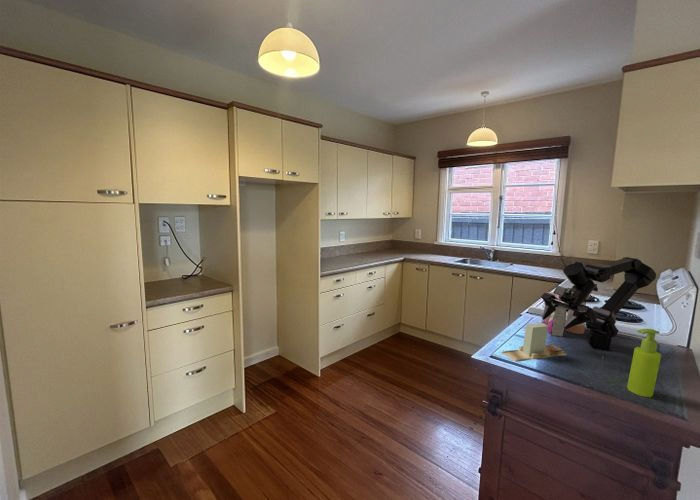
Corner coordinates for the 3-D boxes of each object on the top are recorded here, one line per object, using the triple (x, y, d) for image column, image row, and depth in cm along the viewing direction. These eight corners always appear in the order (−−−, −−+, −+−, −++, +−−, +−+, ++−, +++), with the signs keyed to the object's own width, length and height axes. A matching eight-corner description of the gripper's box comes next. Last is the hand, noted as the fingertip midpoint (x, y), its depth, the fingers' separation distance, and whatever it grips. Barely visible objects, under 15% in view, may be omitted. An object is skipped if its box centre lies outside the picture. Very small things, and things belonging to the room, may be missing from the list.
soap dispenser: (618, 385, 99) (630, 325, 96) (639, 385, 100) (651, 325, 97) (637, 397, 94) (649, 334, 90) (658, 397, 94) (671, 334, 91)
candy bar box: (540, 325, 146) (545, 291, 143) (552, 326, 145) (557, 292, 142) (550, 335, 135) (555, 299, 132) (563, 337, 134) (569, 300, 131)
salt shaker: (588, 333, 139) (595, 291, 136) (574, 334, 137) (581, 292, 134) (573, 326, 146) (579, 286, 143) (560, 327, 144) (566, 287, 141)
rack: (549, 347, 124) (550, 341, 123) (566, 356, 117) (567, 350, 117) (500, 354, 117) (501, 348, 117) (515, 364, 110) (516, 357, 110)
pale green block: (537, 350, 119) (541, 322, 117) (544, 354, 116) (548, 325, 115) (522, 352, 117) (526, 324, 115) (529, 356, 114) (532, 327, 113)
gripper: (547, 272, 124) (522, 302, 123) (595, 285, 107) (566, 320, 106) (560, 290, 128) (536, 318, 127) (609, 305, 110) (581, 339, 109)
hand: (553, 323), depth 117 cm, fingers open, 9 cm apart
